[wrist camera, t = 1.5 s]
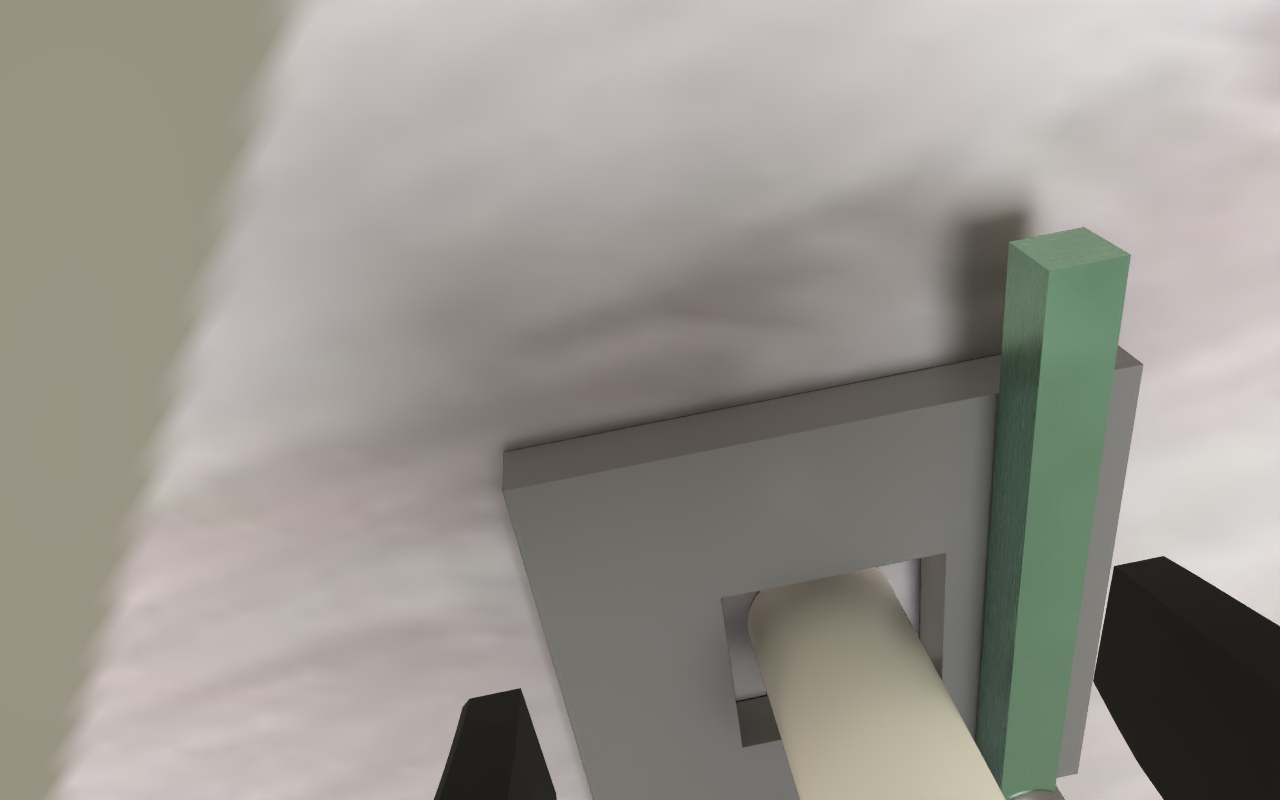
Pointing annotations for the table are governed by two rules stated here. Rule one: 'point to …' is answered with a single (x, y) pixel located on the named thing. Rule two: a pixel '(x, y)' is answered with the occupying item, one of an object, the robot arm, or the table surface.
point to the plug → (861, 695)
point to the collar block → (771, 560)
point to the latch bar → (1044, 494)
